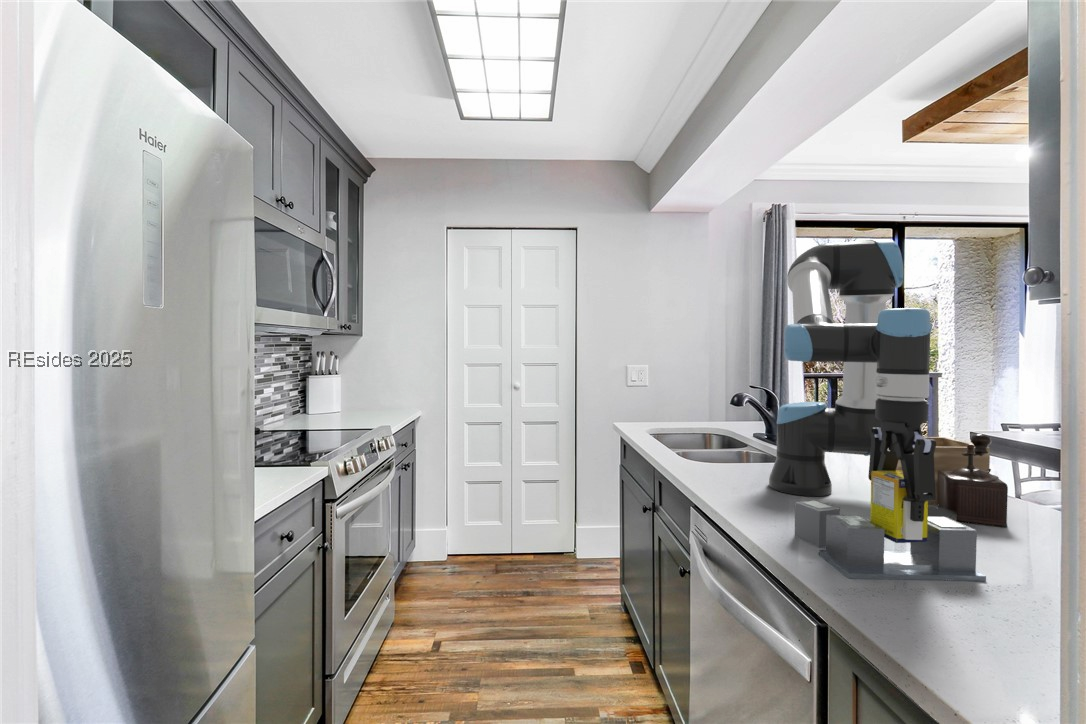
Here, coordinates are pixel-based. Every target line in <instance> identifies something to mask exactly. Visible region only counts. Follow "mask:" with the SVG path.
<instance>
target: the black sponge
mask: <svg viewBox="0 0 1086 724" xmlns="http://www.w3.org/2000/svg"><path fill="white" fill-rule="evenodd" d="M928 516H934V517H947V518H950V519H952V520H954V521H956V518H957V512H956V511H952V510H948V509H943V508H938V507H934V506H933V507H931V506H930V507H929V506H928Z"/></svg>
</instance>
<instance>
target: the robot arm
mask: <svg viewBox="0 0 1086 724" xmlns="http://www.w3.org/2000/svg"><path fill="white" fill-rule="evenodd" d="M902 257H903V256H902V252H901V249H900V247H899V244H898V243H897V242H896V241H895V240H892V239H869V240H855V241H844V242H843V241H842V242H829V243H828V242H827V243H822V244H818V245H816V246H814V247H813V246H812V247H811V248H810V249H807V250H806V251H805V252H803V253H802V254H800V255H798V256H797V258H796V259H795V260H794V261H793V263H792V264H791V265H790V267H789V269H788V271H787V278H786V279H787V287H788V288H789V290H790V291H791V292H792V293H791V294H792V295H791V296H792V314H793V317H792V318H793V323H792V324H788V325H786V326H785V328H784V337H783V338H784V340H783V344H784V345H783V356H784V358H785V359H786V360H787V361H791V362H803V363H809V362H811V363H812V362H813V363H818V362H819V363H826V362H827V363H843V368H842V369H843V375H842V395H841V396H840V397H839V398H837V399H836V400H835V407H827V404H826V402H823V401H804V402H803V401H802V402H793V403H786V404H783V405H780V406H779V408H778V409H777V420H776V422H775V423H776V424H777V425H776V426H777V427H776V428H777V429H776V430H777V431H776V432H777V433H776V458H775V461H774V464H773V466H772V469H771V471H770V475H769V477H768V485H769V487H770V488H771V489H773V490H774V491H778V492H781V493H785V494H790V495H795V496H796V495H797V496H805V497H822V496H823V497H824V496H829V495H831V494H832V491H833V490H832V489H833V488H832V487H833V486H832V484H833V483H832V481H831V478H830V475H829V472H828V470H827V466H826V463H825V462H826V460H825V458H826V457H825V456H826V455H825V454H826V453H836V454H847V455H848V454H849V455H858V456H859V455H861V456H865V457H868V456H869V462H868V463H869V467H868V480H869V481H870V482H871V472H872V471H896V468H897V464H898V460H900V461H901V466H902V471H903V476H904V481H905V487H906V492H907V497H905V498H903V499H904V502H903V538H904V539H905V540H922V531H923V520H924V503H925V502H926V501H934V500H935V498H936V496H935V471H934V452H935V447H936V441H935V440H933V439H926V438H924V437H925V436H923V435H924V434H923V431H922V427H921V426H922V425H924V424H926V423H927V422H928V421H929V404H930V403H929V402H928V401H926V400H925V399H928V398H929V397H930V358H931V357H930V356H931V353H930V350H931V334H932V333H931V332H932V331H933V330H932V328H933V327H932V325H931V313H930V311H929V310H928V309H927V308H920V307H915V308H914V307H910V308H909V307H904V308H903V307H902V308H901V307H900V308H899V307H898V308H887V302H888V300H890V299H891V298H892V297H893V296H894V295H895V294H894V293H895V288H896V289H898V288H900V287H902V285H903V282H904V264H903V263H904V261H903V258H902ZM830 290H839V292H838V294H839V295H838V297H839V298H840V299H841V300H842V301H843V302H844V303H845V312H844V313H845V314H844V315H845V318H844V319H845V320H844V323H835V320H834V314H833V309H832V304H831V296H830ZM912 453H914V454H912ZM914 492H915V494H914Z"/></svg>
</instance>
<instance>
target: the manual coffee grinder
mask: <svg viewBox="0 0 1086 724" xmlns="http://www.w3.org/2000/svg"><path fill="white" fill-rule="evenodd" d="M969 440H970V443H971V444H969V445H968V446H967V449H968V450H967V452H965V453H962V455H963V456H968V466H967V467H962V468H959V469H956V470H954V471H940V470H938V481H937V497H938V504H937V508H943V509H948V510H952V511H956V512H957V518H956V522H959V523H962V522H963V523H964V524H970V525H971V524H972V525H980V526H986V527H987V526H989V527H997V528H1005V529H1006V528H1008V523H1007V522H1008V495H1009V494H1008V493H1009V487H1008V483H1006V482H1004V481H1003V480H1001V479H1000V477H999V476H997V475H995V474H991V473H990V472H991V470H992V469H991V468H989V470H988V471H984V470H982V469H979V468H977V467H974V464H973V456H976V455H979V456H982V455H984V454H989V452H988V450H987V447H988V448H989V446H990V445H991V444H992V441H993V440H992V438H991V437H990V436H988V435H987V434H983V433H975V434H973V435H971V437H970V439H969ZM972 444H974V445H972ZM974 446H975V449H974ZM963 523H962V524H963Z"/></svg>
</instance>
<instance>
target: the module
mask: <svg viewBox="0 0 1086 724" xmlns="http://www.w3.org/2000/svg"><path fill="white" fill-rule="evenodd" d="M794 503H795V504H794V538H797V539H798V540H801V541H803V542H806V543H808V544H810V545H812V546H814V547H817V548H826V515H841V509H840V507H839V508H838V507H835V506H833V505H829V504H827V503H824V502H821V501H818V500H815V499H812V500H805V501H804V500H803V501H795V502H794Z"/></svg>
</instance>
